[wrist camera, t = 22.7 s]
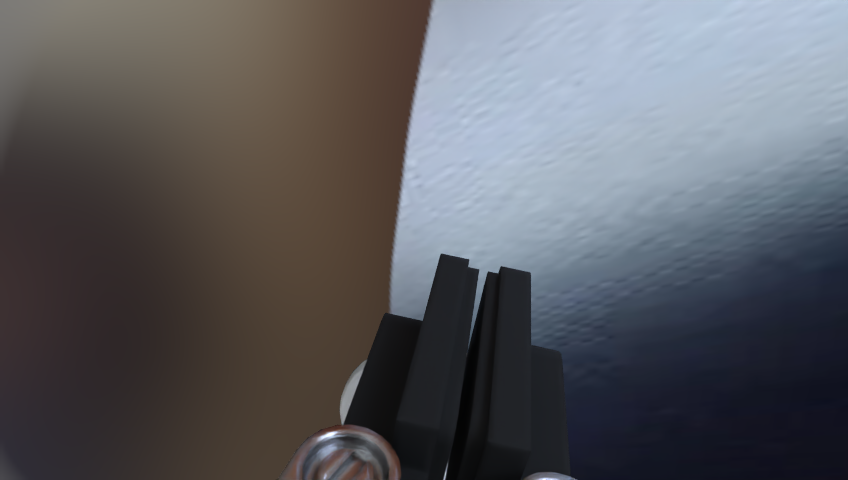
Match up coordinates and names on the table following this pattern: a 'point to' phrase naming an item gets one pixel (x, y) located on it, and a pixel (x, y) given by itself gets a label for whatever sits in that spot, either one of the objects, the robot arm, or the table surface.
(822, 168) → the table surface
